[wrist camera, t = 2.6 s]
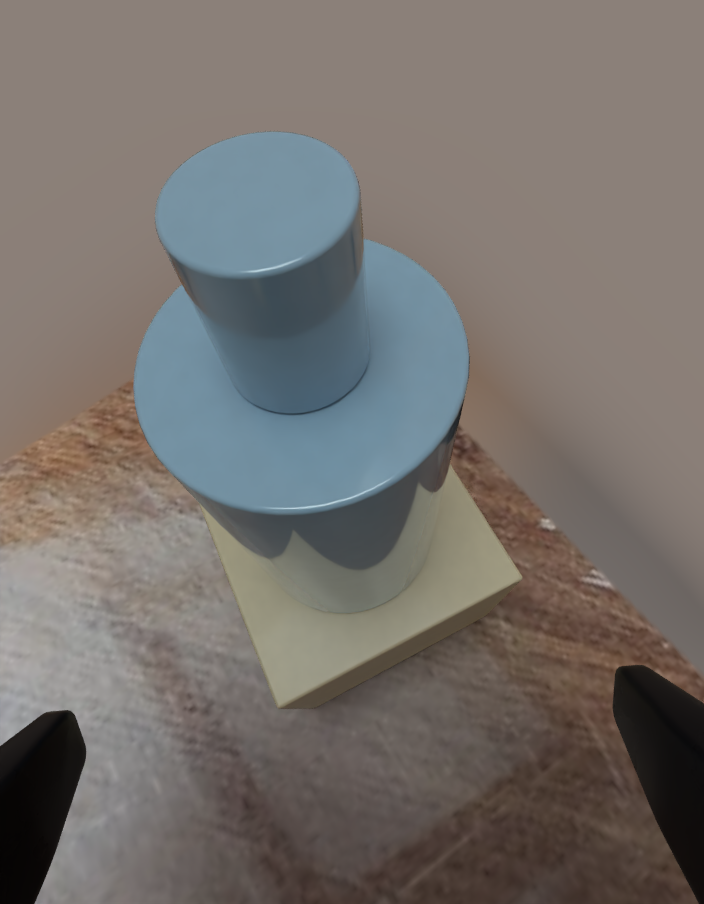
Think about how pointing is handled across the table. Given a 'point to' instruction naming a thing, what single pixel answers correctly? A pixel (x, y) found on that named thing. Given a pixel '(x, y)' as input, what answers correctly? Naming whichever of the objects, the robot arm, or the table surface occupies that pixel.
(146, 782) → the table surface
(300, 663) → the riser
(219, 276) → the bottle
